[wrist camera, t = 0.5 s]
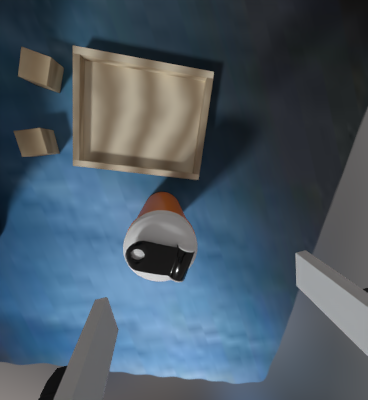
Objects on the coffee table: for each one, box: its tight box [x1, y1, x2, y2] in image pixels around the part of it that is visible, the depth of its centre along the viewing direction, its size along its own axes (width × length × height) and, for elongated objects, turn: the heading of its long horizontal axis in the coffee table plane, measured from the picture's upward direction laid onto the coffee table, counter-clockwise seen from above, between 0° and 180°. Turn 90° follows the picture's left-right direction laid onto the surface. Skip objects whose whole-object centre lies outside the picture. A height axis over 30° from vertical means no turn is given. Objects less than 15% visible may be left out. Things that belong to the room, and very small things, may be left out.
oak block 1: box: [18, 47, 64, 93], centre depth 31 cm, size 4×4×4 cm
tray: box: [73, 46, 214, 180], centre depth 35 cm, size 22×18×3 cm
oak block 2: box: [14, 128, 60, 157], centre depth 33 cm, size 4×4×4 cm
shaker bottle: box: [123, 192, 197, 282], centre depth 31 cm, size 9×9×20 cm
